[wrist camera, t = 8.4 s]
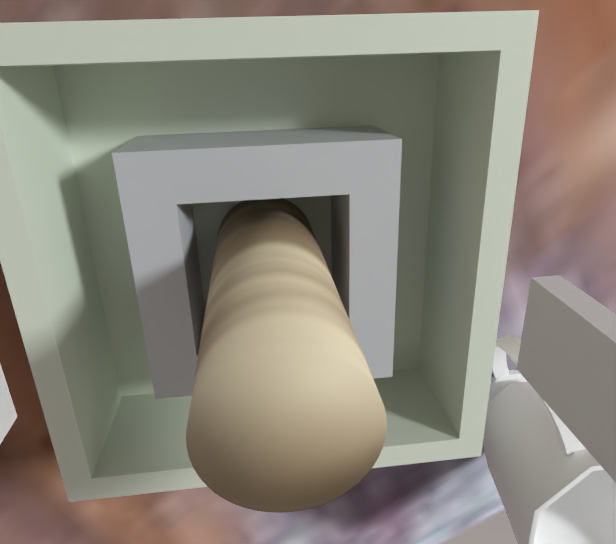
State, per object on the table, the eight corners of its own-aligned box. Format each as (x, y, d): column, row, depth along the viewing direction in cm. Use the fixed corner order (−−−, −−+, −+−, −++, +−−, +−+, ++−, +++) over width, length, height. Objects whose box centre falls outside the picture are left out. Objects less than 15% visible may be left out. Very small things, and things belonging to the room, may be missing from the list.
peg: (212, 197, 20) (172, 360, 9) (311, 192, 20) (390, 341, 9) (222, 289, 22) (197, 522, 11) (314, 282, 22) (384, 500, 11)
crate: (27, 36, 18) (-68, 24, 13) (456, 25, 20) (539, 10, 14) (108, 402, 24) (68, 502, 19) (430, 372, 26) (481, 456, 20)
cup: (468, 471, 29) (546, 612, 21) (410, 335, 25) (480, 450, 17) (583, 421, 28) (704, 548, 21) (543, 275, 24) (673, 367, 17)
